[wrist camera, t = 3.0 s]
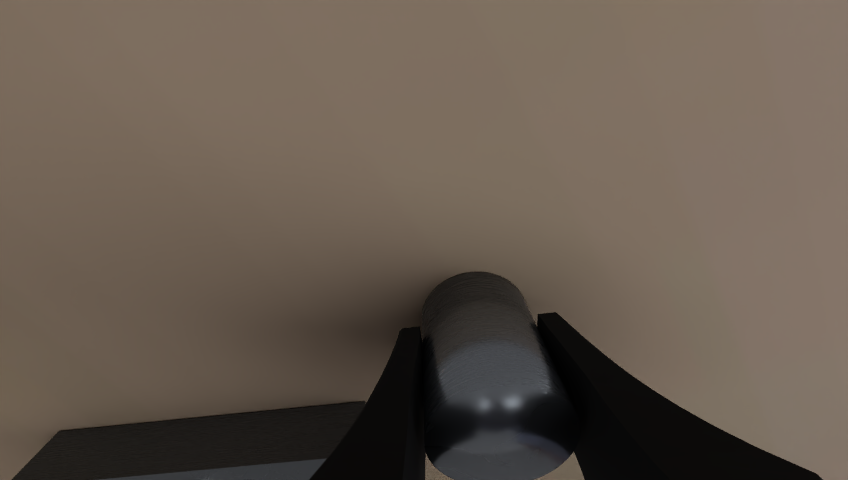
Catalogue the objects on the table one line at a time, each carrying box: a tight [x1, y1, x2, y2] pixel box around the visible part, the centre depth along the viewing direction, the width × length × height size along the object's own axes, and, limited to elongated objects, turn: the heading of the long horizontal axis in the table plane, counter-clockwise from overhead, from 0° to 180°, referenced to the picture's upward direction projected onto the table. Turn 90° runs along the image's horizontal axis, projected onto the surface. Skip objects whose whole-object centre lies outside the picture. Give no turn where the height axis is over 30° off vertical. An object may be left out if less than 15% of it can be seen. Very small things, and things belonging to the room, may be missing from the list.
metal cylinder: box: [422, 272, 581, 480], centre depth 11 cm, size 4×4×5 cm
